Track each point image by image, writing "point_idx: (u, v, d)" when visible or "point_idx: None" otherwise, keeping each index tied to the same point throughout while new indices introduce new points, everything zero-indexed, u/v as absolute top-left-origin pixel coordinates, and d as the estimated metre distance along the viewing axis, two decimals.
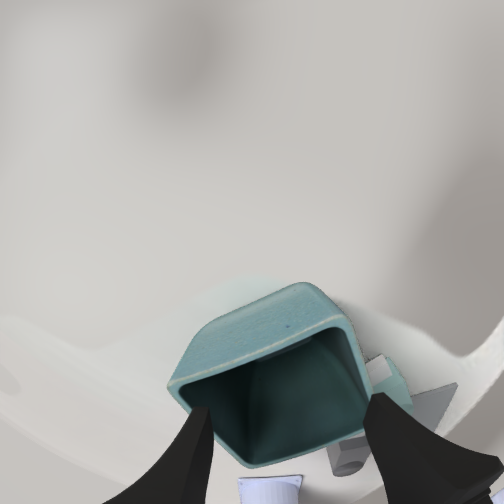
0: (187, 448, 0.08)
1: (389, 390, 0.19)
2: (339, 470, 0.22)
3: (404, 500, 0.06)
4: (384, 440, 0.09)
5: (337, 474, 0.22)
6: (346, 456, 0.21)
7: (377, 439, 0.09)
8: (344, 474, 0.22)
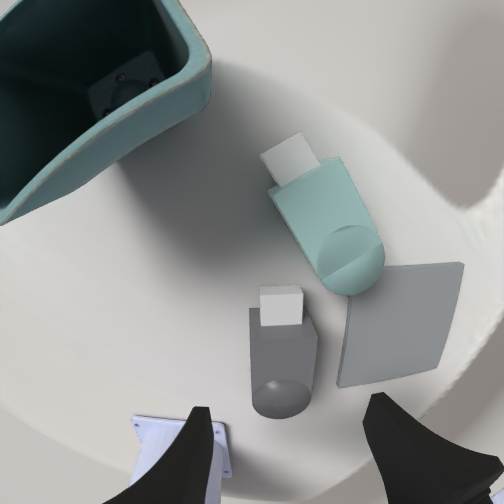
0: (187, 448, 0.08)
1: (311, 173, 0.12)
2: (263, 400, 0.15)
3: (404, 500, 0.06)
4: (384, 440, 0.09)
5: (262, 410, 0.15)
6: (266, 360, 0.14)
7: (377, 439, 0.09)
8: (277, 414, 0.15)
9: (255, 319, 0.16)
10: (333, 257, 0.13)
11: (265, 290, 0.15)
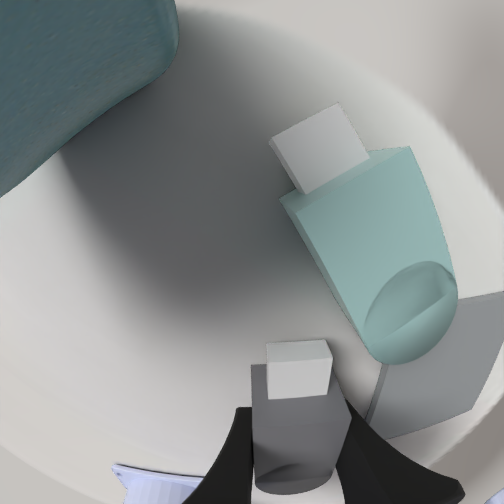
0: (241, 450, 0.08)
1: (365, 171, 0.06)
2: (270, 481, 0.09)
3: None
4: (342, 449, 0.09)
5: (268, 488, 0.10)
6: (276, 446, 0.08)
7: None
8: (287, 491, 0.10)
9: (260, 386, 0.10)
10: (389, 314, 0.07)
11: (275, 351, 0.10)
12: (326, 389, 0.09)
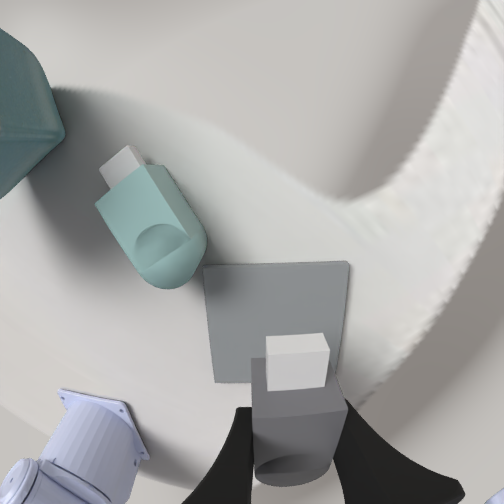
0: (241, 450, 0.08)
1: (120, 181, 0.13)
2: (269, 472, 0.10)
3: None
4: (342, 449, 0.09)
5: (268, 480, 0.10)
6: (275, 437, 0.09)
7: (337, 447, 0.09)
8: (286, 482, 0.10)
9: (259, 378, 0.11)
10: (146, 253, 0.14)
11: (274, 344, 0.10)
12: (324, 381, 0.10)
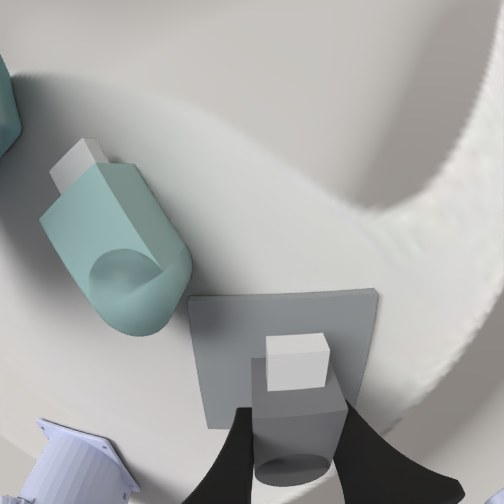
0: (241, 450, 0.08)
1: (68, 188, 0.08)
2: (269, 472, 0.10)
3: None
4: (342, 449, 0.09)
5: (268, 480, 0.10)
6: (275, 437, 0.09)
7: (337, 447, 0.09)
8: (286, 483, 0.10)
9: (259, 378, 0.11)
10: (104, 289, 0.09)
11: (274, 344, 0.10)
12: (324, 381, 0.10)
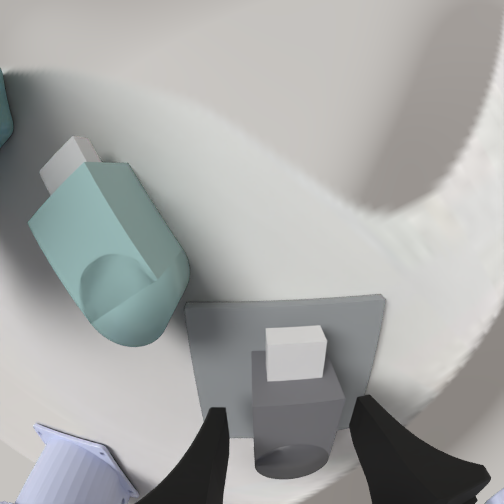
0: (207, 449, 0.08)
1: (56, 189, 0.08)
2: (269, 464, 0.10)
3: None
4: (369, 444, 0.09)
5: (268, 472, 0.10)
6: (274, 427, 0.09)
7: (362, 442, 0.09)
8: (286, 475, 0.11)
9: (259, 370, 0.11)
10: (96, 297, 0.09)
11: (274, 335, 0.11)
12: (321, 372, 0.10)
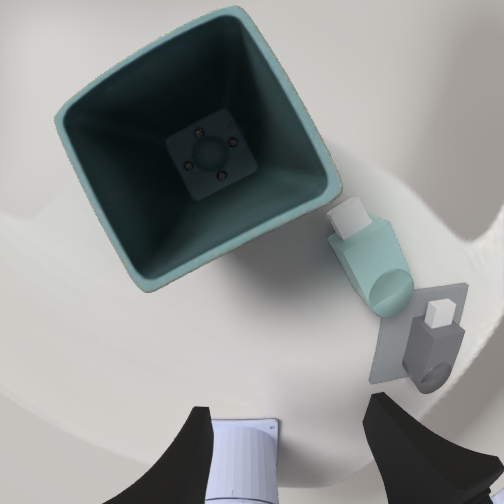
0: (187, 448, 0.08)
1: (370, 234, 0.16)
2: (426, 380, 0.18)
3: (404, 500, 0.06)
4: (384, 440, 0.09)
5: (423, 388, 0.18)
6: (438, 350, 0.17)
7: (377, 439, 0.09)
8: (429, 389, 0.19)
9: (424, 324, 0.19)
10: (380, 292, 0.17)
11: (435, 304, 0.19)
12: (451, 321, 0.18)
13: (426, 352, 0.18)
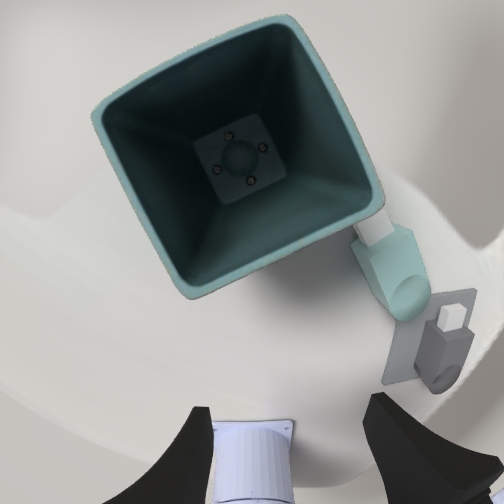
0: (187, 448, 0.08)
1: (394, 242, 0.16)
2: (438, 381, 0.18)
3: (404, 500, 0.06)
4: (384, 440, 0.09)
5: (434, 389, 0.19)
6: (449, 353, 0.18)
7: (377, 439, 0.09)
8: (440, 390, 0.19)
9: (436, 328, 0.19)
10: (400, 297, 0.17)
11: (447, 308, 0.19)
12: (462, 325, 0.19)
13: (438, 354, 0.18)
